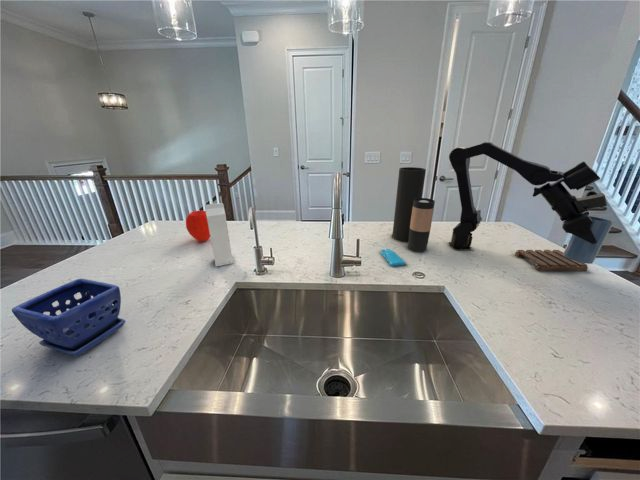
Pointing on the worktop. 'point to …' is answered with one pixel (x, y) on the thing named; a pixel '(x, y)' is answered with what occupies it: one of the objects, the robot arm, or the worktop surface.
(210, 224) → the milk
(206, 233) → the apple
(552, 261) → the drying rack
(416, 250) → the travel mug
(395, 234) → the vase
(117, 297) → the flower pot
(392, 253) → the sponge
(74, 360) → the worktop surface
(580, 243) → the tumbler
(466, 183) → the robot arm
